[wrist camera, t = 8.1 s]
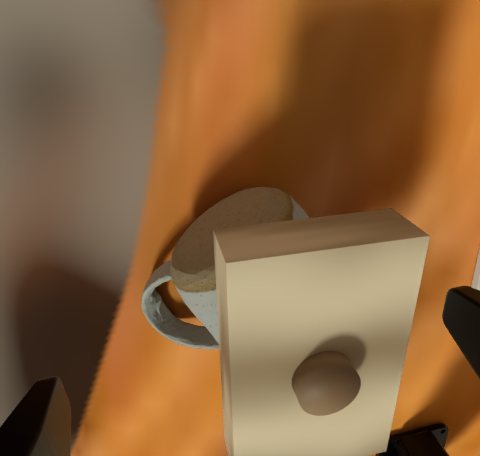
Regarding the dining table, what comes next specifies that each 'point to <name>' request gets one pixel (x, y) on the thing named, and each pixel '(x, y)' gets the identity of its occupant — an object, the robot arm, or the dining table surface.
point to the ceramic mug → (209, 263)
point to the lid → (315, 331)
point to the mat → (477, 274)
